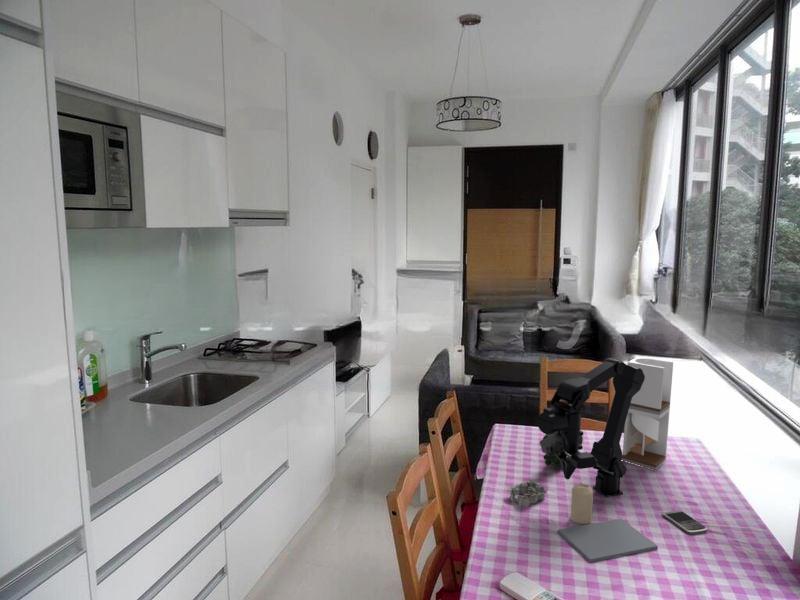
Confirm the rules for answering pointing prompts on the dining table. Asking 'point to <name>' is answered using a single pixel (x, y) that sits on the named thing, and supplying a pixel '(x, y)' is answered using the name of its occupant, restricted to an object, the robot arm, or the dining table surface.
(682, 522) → the cell phone
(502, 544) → the dining table surface
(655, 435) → the display case
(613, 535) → the rubber mat
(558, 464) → the toy figurine
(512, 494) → the grey jagged ring-shaped piece
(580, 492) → the candle
